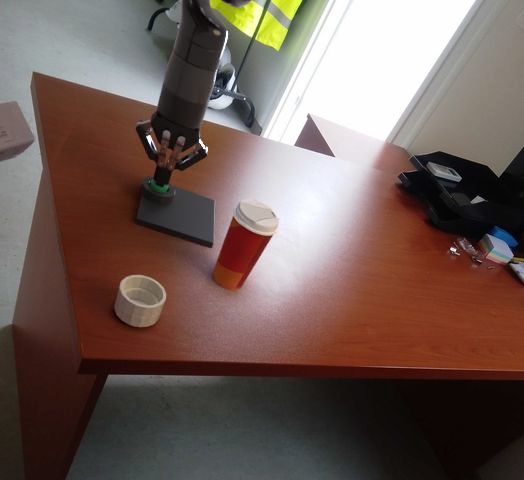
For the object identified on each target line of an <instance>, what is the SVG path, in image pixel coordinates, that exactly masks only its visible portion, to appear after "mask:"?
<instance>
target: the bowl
mask: <svg viewBox="0 0 524 480" xmlns="http://www.w3.org/2000/svg"><path fill="white" fill-rule="evenodd" d="M166 301H167V292H166V290H165V288H164V286H162V284H160V282H158V281H157V280H155V279H154V278H153V277H149V276H146V275H143V274H132V275H128V276H125V277H124V278H123V279H122V280H121V281H120V283H119V287H118V291H117V294H116V298H115V303H114V306H113V308H114V312H115V314H116V316H117V317H118V318H119V319H120V320H121V321H122V322H124V323H125V324H127V325H128V326H131V327H135V328H148V327H150V326H153V325H155V324H156V323H157V322H158V320H159V319H160V317H161V313H162V312H163V311H162V310H163V308H164V306H165V303H166Z"/></svg>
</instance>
